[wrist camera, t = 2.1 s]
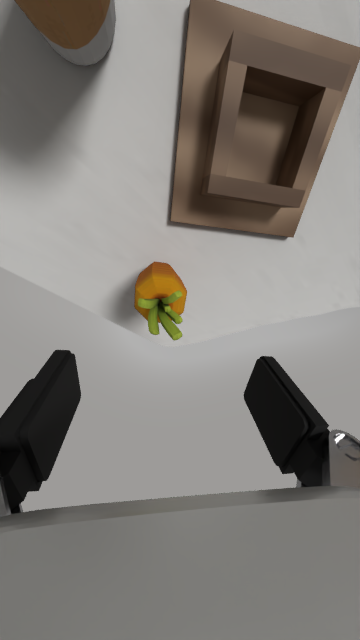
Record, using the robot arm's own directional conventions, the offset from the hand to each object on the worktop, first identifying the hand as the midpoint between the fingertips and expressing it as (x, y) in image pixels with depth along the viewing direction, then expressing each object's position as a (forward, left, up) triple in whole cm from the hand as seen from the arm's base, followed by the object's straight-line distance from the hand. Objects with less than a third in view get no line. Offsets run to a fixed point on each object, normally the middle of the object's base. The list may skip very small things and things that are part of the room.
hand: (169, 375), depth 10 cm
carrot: (0, 0, -19) cm, 19 cm away
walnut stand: (-14, +9, -19) cm, 25 cm away
